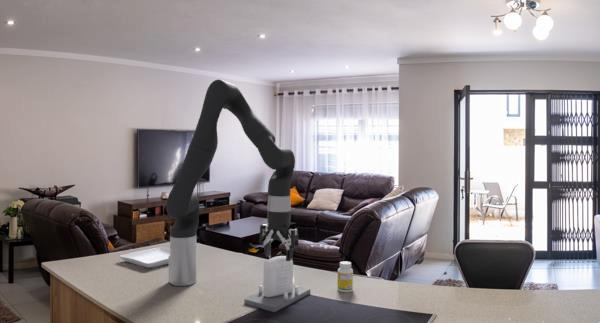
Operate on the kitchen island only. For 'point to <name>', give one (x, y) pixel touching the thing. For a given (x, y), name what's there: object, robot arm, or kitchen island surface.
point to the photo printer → (278, 276)
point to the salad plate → (149, 257)
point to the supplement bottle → (345, 277)
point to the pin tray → (276, 299)
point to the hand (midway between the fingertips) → (278, 258)
